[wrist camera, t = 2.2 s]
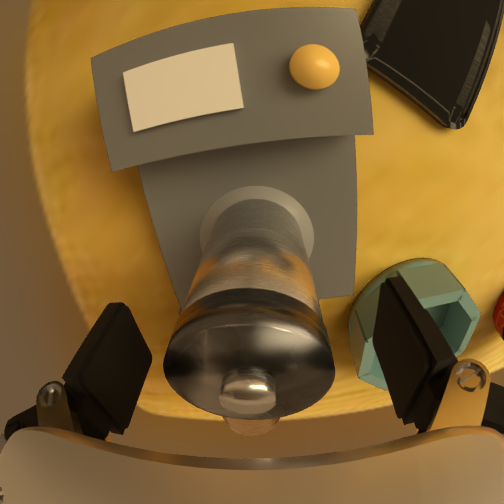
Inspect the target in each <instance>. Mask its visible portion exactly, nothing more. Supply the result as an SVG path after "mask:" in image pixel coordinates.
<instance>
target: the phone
mask: <svg viewBox="0 0 504 504" xmlns="http://www.w3.org/2000/svg"><path fill="white" fill-rule="evenodd" d="M503 14H504V0H374V2H373V4H372V6H371V8H370V9H369V11H368V13H367V15H366V17H365V19H364V20H363V22H362V24H361V26H360V30H361V35H362V40H363V46H364V52H365V58H366V64H367V69H369V70H370V71H372V72H373V73H375V74H377V75H378V76H379V77H381V78H382V79H384V80H385V81H387V82H388V83H390V84H391V85H392V86H394V87H395V88H396V89H398V90H399V91H401V92H402V93H403V94H405V95H406V96H407V97H408V98H410V99H411V100H412V101H413V102H415V103H416V104H417V105H418V106H420V107H421V108H422V109H423V110H424V111H426V112H427V113H428V114H429V115H430V116H432V117H433V118H434V119H435V120H436V121H437V122H438V123H439V124H441V125H442V126H444V127H448V128H452V129H460V128H462V127H463V126H464V125H465V124H466V122H467V120H468V118H469V115H470V113H471V111H472V109H473V106H474V104H475V101H476V99H477V97H478V94H479V92H480V89H481V86H482V84H483V81H484V78H485V76H486V73H487V70H488V67H489V64H490V61H491V58H492V55H493V52H494V49H495V45H496V42H497V38H498V34H499V31H500V27H501V23H502V18H503Z"/></svg>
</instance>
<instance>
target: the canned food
mask: <svg viewBox="0 0 504 504" xmlns="http://www.w3.org/2000/svg"><path fill="white" fill-rule="evenodd" d="M494 323H495V327H496V330H497V331H498V333H499V334H500V336H501V337H502V339H503V340H504V292H503V294H502V296H501V297H500V299H499V301H498V303H497V306H496V309H495V312H494Z"/></svg>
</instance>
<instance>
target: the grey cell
mask: <svg viewBox="0 0 504 504" xmlns="http://www.w3.org/2000/svg"><path fill="white" fill-rule="evenodd" d="M163 368H164V373H165V377H166V379H167V381H168V383H169V384H170V386H171V387H172V388H173V389H174V390H175V391H176V393H177V394H179V395H180V396H181V397H182V398H183V399H185V400H186V401H188V402H189V403H191V404H192V405H194V406H196V407H198V408H200V409H202V410H205V411H207V412H210V413H213V414H216V415H220V416H224V417H229V418H235V419H244V420H264V419H273V418H279V417H284V416H288V415H291V414H294V413H297V412H300V411H302V410H304V409H306V408H308V407H310V406H312V405H313V404H315V403H316V402H317V401H319V400H320V399H321V398H322V397H323V396H324V395H325V394H326V393H327V392H328V390H329V389H330V388H331V386H332V384H333V381H334V377H335V366H334V361H333V357H332V352H331V347H330V343H329V338H328V334H327V330H326V327H325V325H324V323H323V319H322V314H321V310H320V306H319V301H318V297H317V293H316V289H315V284H314V280H313V276H312V272H311V268H310V264H309V260H308V256H307V252H306V249H305V245H304V241H303V237H302V234H301V230H300V227H299V224H298V222H297V221H296V219H295V217H294V216H293V215H292V214H291V213H290V212H289V211H288V210H287V209H286V208H284V207H283V206H281V205H279V204H277V203H275V202H272V201H269V200H265V199H248V200H243V201H240V202H237V203H235V204H233V205H231V206H230V207H228V208H227V209H226V210H225V211H223V212H222V214H221V215H220V216H219V217H218V219H217V220H216V222H215V225H214V227H213V229H212V232H211V235H210V237H209V240H208V242H207V245H206V247H205V250H204V253H203V255H202V258H201V261H200V263H199V266H198V269H197V271H196V274H195V277H194V279H193V282H192V285H191V288H190V290H189V293H188V296H187V299H186V302H185V304H184V307H183V310H182V313H181V315H180V317H179V318H178V320H177V323H176V325H175V328H174V330H173V333H172V336H171V339H170V342H169V345H168V348H167V351H166V354H165V357H164V362H163Z"/></svg>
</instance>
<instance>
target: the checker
mask: <svg viewBox="0 0 504 504" xmlns="http://www.w3.org/2000/svg"><path fill="white" fill-rule="evenodd" d="M91 65H92V73H93V80H94V87H95V94H96V100H97V106H98V111H99V116H100V122H101V127H102V131H103V136H104V141H105V145H106V150H107V154H108V158H109V162H110V166H111V170H112V172H114V171H118V170H121V169H125V168H129V167H133V166H138V170H139V174H140V178H141V182H142V186H143V190H144V193H145V197H146V201H147V205H148V208H149V212H150V215H151V219H152V222H153V225H154V229H155V232H156V235H157V239H158V242H159V245H160V248H161V252H162V255H163V258H164V261H165V264H166V267H167V270H168V273H169V276H170V279H171V282H172V284H173V287H174V290H175V293H176V296H177V298H178V301H179V304H180V307H181V309H182V310H183V307H184V304H185V302H186V299H187V296H188V293H189V290H190V288H191V285H192V282H193V279H194V277H195V274H196V271H197V269H198V266H199V263H200V261H201V258H202V255H203V253H204V250H205V247H206V245H207V242H208V240H209V237H210V235H211V232H212V229H213V227H214V225H215V222H216V220H217V219H218V217H219V216H220V215H221V214H222V212H223V211H225V210H226V209H227V208H228V207H230V206H231V205H233V204H235V203H237V202H240V201H243V200H248V199H265V200H269V201H272V202H275V203H277V204H279V205H281V206H283V207H284V208H286V209H287V210H288V211H289V212H290V213H291V214H292V215H293V216H294V217H295V219H296V221H297V222H298V224H299V227H300V230H301V234H302V237H303V241H304V245H305V249H306V252H307V256H308V260H309V264H310V268H311V272H312V276H313V280H314V284H315V289H316V293H317V297H318V299H326V298H334V297H342V296H350V295H353V293H354V280H355V264H356V241H357V172H356V150H355V135H374V132H373V118H372V106H371V96H370V87H369V79H368V71H367V64H366V58H365V52H364V46H363V40H362V35H361V30H360V25H359V20H358V16H357V11H356V9H351V8H334V7H291V8H275V9H263V10H254V11H246V12H239V13H232V14H226V15H221V16H216V17H211V18H206V19H201V20H197V21H193V22H189V23H185V24H181V25H177V26H174V27H170V28H167V29H164V30H161V31H157V32H154V33H151V34H148V35H145V36H143V37H140V38H137V39H134V40H132V41H129V42H127V43H124V44H122V45H119V46H117V47H114V48H112V49H110V50H107V51H105V52H103V53H101V54H99V55H96V56H94V57H92V58H91Z"/></svg>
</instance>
